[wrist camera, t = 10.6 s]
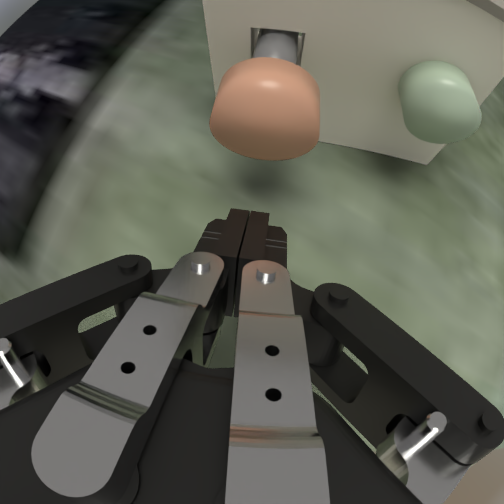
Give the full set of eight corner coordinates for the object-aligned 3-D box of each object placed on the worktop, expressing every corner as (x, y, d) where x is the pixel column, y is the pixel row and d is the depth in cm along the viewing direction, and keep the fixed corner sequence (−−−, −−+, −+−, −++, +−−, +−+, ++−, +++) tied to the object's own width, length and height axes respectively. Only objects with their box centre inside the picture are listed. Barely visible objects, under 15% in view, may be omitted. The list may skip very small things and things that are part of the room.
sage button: (391, 132, 16) (424, 78, 11) (377, 51, 18) (395, 3, 14) (456, 151, 16) (496, 108, 11) (432, 68, 18) (455, 27, 13)
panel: (214, 131, 24) (182, -65, 7) (224, 93, 25) (206, -81, 8) (431, 168, 23) (543, 38, 7) (424, 129, 24) (512, 1, 8)
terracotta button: (215, 154, 16) (202, 90, 11) (240, 56, 18) (238, -3, 13) (309, 166, 16) (329, 104, 11) (313, 64, 18) (325, 7, 13)
